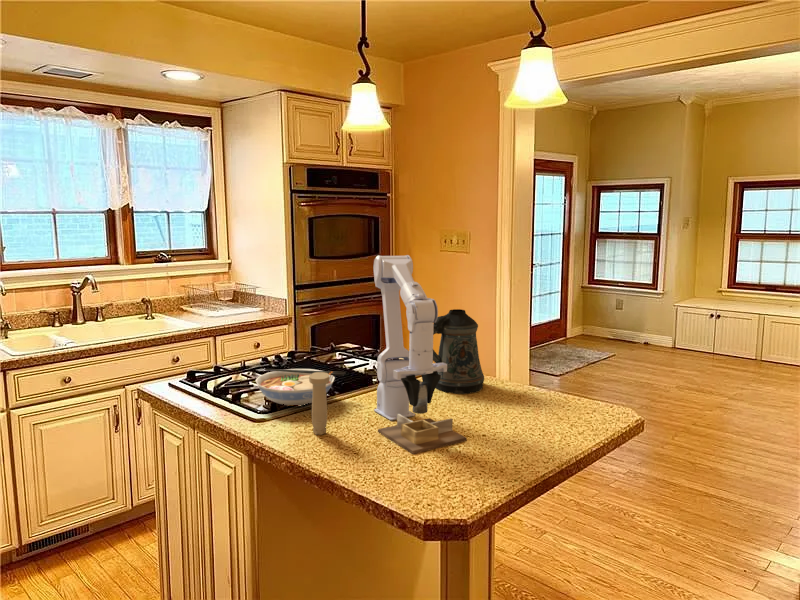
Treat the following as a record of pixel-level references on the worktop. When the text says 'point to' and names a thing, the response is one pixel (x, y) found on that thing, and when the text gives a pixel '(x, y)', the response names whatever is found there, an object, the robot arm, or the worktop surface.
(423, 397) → the hinge pin
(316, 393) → the handle
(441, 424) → the hinge block
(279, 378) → the ramen bowl
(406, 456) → the worktop surface
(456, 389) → the beer stein
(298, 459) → the worktop surface
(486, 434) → the worktop surface
